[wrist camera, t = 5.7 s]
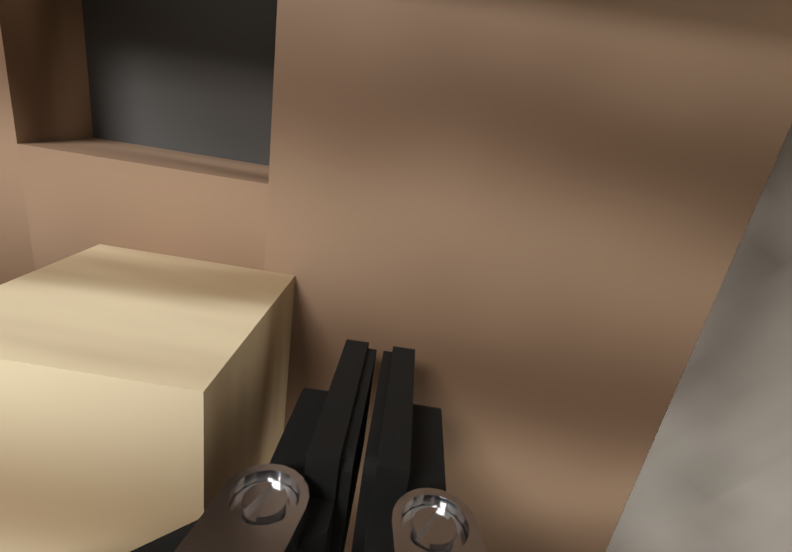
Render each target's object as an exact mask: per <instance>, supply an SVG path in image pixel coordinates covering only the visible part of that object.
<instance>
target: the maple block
mask: <svg viewBox="0 0 792 552" xmlns="http://www.w3.org/2000/svg"><path fill="white" fill-rule="evenodd" d="M294 285H295V275H289V274H282V273H276V272H270V271H264V270H258V269H251V268H245V267H239V266H233V265H227V264H220V263H214V262H208V261H202V260H195V259H189V258H183V257H177V256H171V255H164V254H158V253H152V252H146V251H140V250H133V249H127V248H121V247H115V246H109V245H102V244H99V245H96V246H94V247H91V248H89V249H86V250H84V251H82V252H79V253H77V254H74V255H72V256H69V257H67V258H65V259H62V260H60V261H57V262H55V263H52V264H50V265H47V266H45V267H43V268H40V269H38V270H35V271H33V272H30V273H28V274H26V275H23V276H21V277H18V278H16V279H13V280H11V281H8V282H6V283H4V284H1V285H0V552H130V551H132V550H134V549H137V548H139V547H141V546H143V545H145V544H147V543H149V542H151V541H153V540H156V539H158V538H160V537H162V536H164V535H166V534H168V533H170V532H173V531H175V530H177V529H179V528H181V527H183V526H185V525H187V524H190V523H192V522H194V521H196V520H198V519H199V518H200V517H201V516H202V514H203V513H204V512H205V510H206V509H207V508H208V506H209V505H210V504H211V502H212V501H213V500H214V498H215V497H216V496H217V494H218V493H219V492H220V491H221V489H222V488H223V487H224V485H225V484H226V483H227V482H228V481H229V480H230V479H231V478H232V477H233V476H234V475H236V474H237V473H239V472H241V471H242V470H244V469H246V468H249V467H252V466H256V465H259V464H269V463H270V461H271V458H272V456H273V454H274V452H275V450H276V447H277V445H278V443H279V441H280V438H281V436H282V434H283V432H284V421H285V407H286V394H287V380H288V367H289V353H290V340H291V326H292V313H293V299H294Z"/></svg>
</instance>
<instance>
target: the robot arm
mask: <svg viewBox="0 0 792 552" xmlns="http://www.w3.org/2000/svg"><path fill="white" fill-rule="evenodd" d="M376 352H377V350H376V349H370V348H369V342H363V341H357V340H350V339H347V340H346V342H345V345H344V348H343V351H342V354H341V357H340V359H339V362H338V365H337V368H336V371H335V374H334V377H333V379H332V382H331V385H330V388H329V391H325V390H319V389H312V388H306V387H305V388H303V390H302V392H301V394H300V396H299V398H298V401H297V403H296V405H295V407H294V409H293V412H292V414H291V416H290V418H289V421H288V423H287V425H286V427H285V429H284V432H283V434H282V436H281V438H280V441H279V443H278V445H277V447H276V450H275V452H274V454H273V456H272V458H271V461H270V463H269V464H259V465H256V466H252V467H249V468H246V469H244V470H242V471H241V472H239V473H237V474H236V475H234V476H233V477H232V478H231V479H230V480H229V481H228V482H227V483H226V484H225V485H224V487H223V488H222V489H221V491H220V492H219V493H218V494H217V496H216V497H215V498H214V500H213V501H212V502H211V504H210V505H209V506H208V508H207V509H206V510H205V512H204V513H203V514H202V516H201V517H200V518H199V519H198V520H196V521H194V522H192V523H190V524H187V525H185V526H183V527H181V528H179V529H177V530H175V531H173V532H170V533H168V534H166V535H164V536H162V537H160V538H158V539H156V540H153V541H151V542H149V543H147V544H145V545H143V546H141V547H139V548H137V549H134V550H132V551H130V552H344V549H345V544H346V538H347V533H348V527H349V522H350V517H351V511H352V506H353V501H354V495H355V490H356V484H357V479H358V474H359V468H360V463H361V458H362V452H363V446H364V439H365V432H366V425H367V417H368V410H369V403H370V396H371V389H372V381H373V374H374V367H375V360H376ZM414 367H415V349H410V348H403V347H396V346H393V350H392V352H390V351H383V357H382V362H381V368H380V374H379V379H378V385H377V391H376V396H375V402H374V408H373V413H372V419H371V425H370V430H369V436H368V442H367V447H366V453H365V459H364V465H363V472H362V479H361V486H360V493H359V500H358V507H357V514H356V521H355V529H354V536H353V543H352V550H351V552H486V550H485V547H484V544H483V540H482V537H481V534H480V530H479V527H478V524H477V521H476V519H475V517H474V515H473V513H472V511H471V510H470V509H469V508H468V507H467V506H466V504H465V503H464V502H463V501H461V500H460V499H458V498H457V497H456V496H454V495H453V494H450V493H448V492H446V479H445V462H444V444H443V427H442V412H441V408H437V407H430V406H424V405H417V404H413V392H414Z"/></svg>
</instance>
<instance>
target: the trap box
mask: <svg viewBox="0 0 792 552" xmlns="http://www.w3.org/2000/svg"><path fill="white" fill-rule="evenodd" d="M791 125H792V0H0V285H1V284H4V283H6V282H8V281H11V280H13V279H16V278H18V277H21V276H23V275H26V274H28V273H30V272H33V271H35V270H38V269H40V268H43V267H45V266H47V265H50V264H52V263H55V262H57V261H60V260H62V259H65V258H67V257H69V256H72V255H74V254H77V253H79V252H82V251H84V250H86V249H89V248H91V247H94V246H96V245H99V244H102V245H109V246H115V247H121V248H127V249H133V250H140V251H146V252H152V253H158V254H164V255H171V256H177V257H183V258H189V259H195V260H202V261H208V262H214V263H220V264H227V265H233V266H239V267H245V268H251V269H258V270H264V271H270V272H276V273H282V274H289V275H295V285H294V299H293V313H292V326H291V340H290V353H289V367H288V380H287V394H286V407H285V421H284V429H285V427H286V425H287V423H288V421H289V418H290V416H291V414H292V412H293V409H294V407H295V405H296V403H297V401H298V398H299V396H300V394H301V392H302V390H303V388H305V387H306V388H312V389H319V390H325V391H329V388H330V385H331V382H332V379H333V377H334V374H335V371H336V368H337V365H338V362H339V359H340V357H341V354H342V351H343V348H344V345H345V342H346V340H347V339H350V340H357V341H363V342H369V348H370V349H376V350H377V352H376V360H375V367H374V374H373V381H372V389H371V396H370V403H369V410H368V417H367V425H366V432H365V439H364V446H363V452H362V458H361V463H360V468H359V474H358V479H357V484H356V490H355V495H354V501H353V506H352V511H351V517H350V522H349V527H348V533H347V538H346V544H345V549H344V552H351V550H352V543H353V536H354V529H355V521H356V514H357V507H358V500H359V493H360V486H361V479H362V472H363V465H364V459H365V453H366V447H367V442H368V436H369V430H370V425H371V419H372V413H373V408H374V402H375V396H376V391H377V385H378V379H379V374H380V368H381V362H382V357H383V351H390V352H392V350H393V346H396V347H403V348H410V349H415V367H414V392H413V404H417V405H424V406H430V407H437V408H441V412H442V427H443V444H444V462H445V479H446V492H448V493H450V494H453V495H454V496H456V497H457V498H458V499H460V500H461V501H463V502H464V503H465V504H466V506H467V507H468V508H469V509H470V510H471V511H472V513H473V515H474V517H475V519H476V521H477V524H478V527H479V530H480V534H481V537H482V540H483V544H484V547H485V550H486V552H605V551H606V548H607V546H608V544H609V541H610V539H611V537H612V535H613V532H614V530H615V528H616V525H617V523H618V521H619V519H620V516H621V514H622V512H623V509H624V507H625V505H626V503H627V500H628V498H629V496H630V493H631V491H632V489H633V486H634V484H635V482H636V480H637V477H638V475H639V473H640V470H641V468H642V466H643V464H644V461H645V459H646V457H647V454H648V452H649V450H650V448H651V445H652V443H653V441H654V438H655V436H656V434H657V432H658V429H659V427H660V425H661V422H662V420H663V418H664V415H665V413H666V411H667V409H668V406H669V404H670V402H671V399H672V397H673V395H674V393H675V390H676V388H677V386H678V383H679V381H680V379H681V377H682V374H683V372H684V370H685V367H686V365H687V363H688V361H689V358H690V356H691V354H692V351H693V349H694V347H695V344H696V342H697V340H698V338H699V335H700V333H701V331H702V328H703V326H704V324H705V322H706V319H707V317H708V315H709V312H710V310H711V308H712V306H713V303H714V301H715V299H716V296H717V294H718V292H719V290H720V287H721V285H722V283H723V280H724V278H725V276H726V273H727V271H728V269H729V267H730V264H731V262H732V260H733V257H734V255H735V253H736V251H737V248H738V246H739V244H740V241H741V239H742V237H743V235H744V232H745V230H746V228H747V225H748V223H749V221H750V218H751V216H752V214H753V212H754V209H755V207H756V205H757V202H758V200H759V198H760V196H761V193H762V191H763V189H764V186H765V184H766V182H767V180H768V177H769V175H770V173H771V170H772V168H773V166H774V164H775V161H776V159H777V157H778V154H779V152H780V150H781V147H782V145H783V143H784V141H785V138H786V136H787V134H788V131H789V129H790V127H791Z"/></svg>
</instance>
